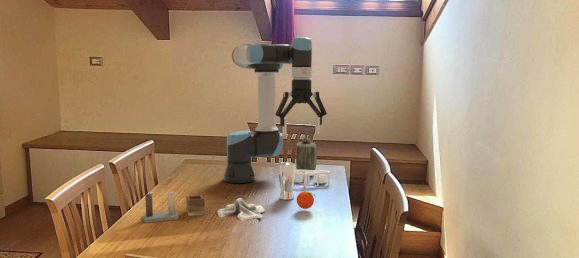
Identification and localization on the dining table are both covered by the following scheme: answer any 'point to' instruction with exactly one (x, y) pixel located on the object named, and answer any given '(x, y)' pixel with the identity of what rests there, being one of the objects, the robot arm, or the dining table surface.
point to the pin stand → (162, 215)
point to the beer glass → (286, 180)
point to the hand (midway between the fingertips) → (301, 134)
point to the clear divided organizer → (319, 175)
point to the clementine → (305, 199)
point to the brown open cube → (195, 205)
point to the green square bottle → (306, 154)
